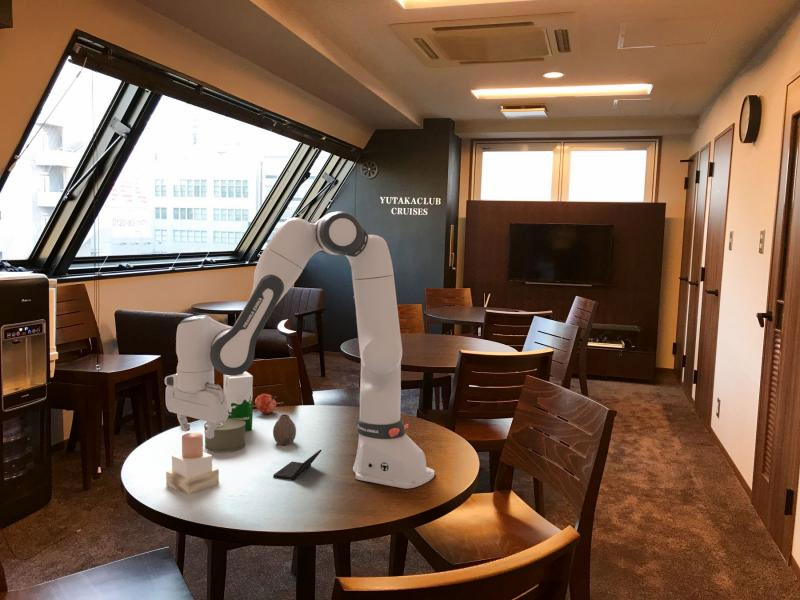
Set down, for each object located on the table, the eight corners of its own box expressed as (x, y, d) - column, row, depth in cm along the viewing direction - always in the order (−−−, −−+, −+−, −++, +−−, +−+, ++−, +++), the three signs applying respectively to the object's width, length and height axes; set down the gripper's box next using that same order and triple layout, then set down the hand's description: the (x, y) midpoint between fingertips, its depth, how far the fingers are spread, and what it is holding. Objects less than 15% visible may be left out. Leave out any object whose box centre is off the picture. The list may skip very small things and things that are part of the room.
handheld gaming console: (284, 458, 175) (304, 433, 173) (304, 474, 176) (325, 449, 173) (269, 479, 164) (291, 453, 162) (291, 496, 165) (313, 470, 162)
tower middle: (212, 470, 160) (211, 455, 159) (186, 478, 154) (186, 462, 154) (197, 463, 164) (196, 448, 164) (172, 471, 159) (171, 455, 159)
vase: (298, 440, 196) (298, 412, 195) (292, 447, 189) (292, 418, 188) (276, 439, 196) (276, 411, 196) (270, 446, 190) (270, 417, 189)
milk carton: (247, 423, 212) (247, 364, 210) (255, 430, 204) (255, 369, 202) (221, 426, 208) (220, 367, 206) (228, 434, 200) (228, 372, 198)
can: (247, 450, 186) (247, 427, 185) (205, 454, 182) (204, 431, 181) (243, 438, 197) (243, 416, 196) (203, 441, 193) (203, 419, 192)
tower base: (218, 484, 161) (218, 469, 161) (189, 495, 154) (188, 479, 153) (196, 476, 166) (195, 461, 166) (166, 487, 159) (166, 471, 158)
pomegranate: (253, 422, 221) (273, 407, 218) (243, 404, 223) (263, 389, 220) (265, 418, 228) (285, 404, 225) (256, 401, 230) (275, 387, 227)
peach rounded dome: (207, 454, 160) (206, 435, 159) (190, 460, 156) (189, 440, 155) (194, 450, 163) (194, 431, 162) (177, 455, 159) (177, 436, 158)
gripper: (233, 383, 154) (234, 438, 156) (181, 372, 166) (182, 424, 167) (212, 388, 149) (214, 445, 151) (160, 377, 161) (162, 430, 162)
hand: (197, 434), depth 159 cm, fingers open, 8 cm apart
